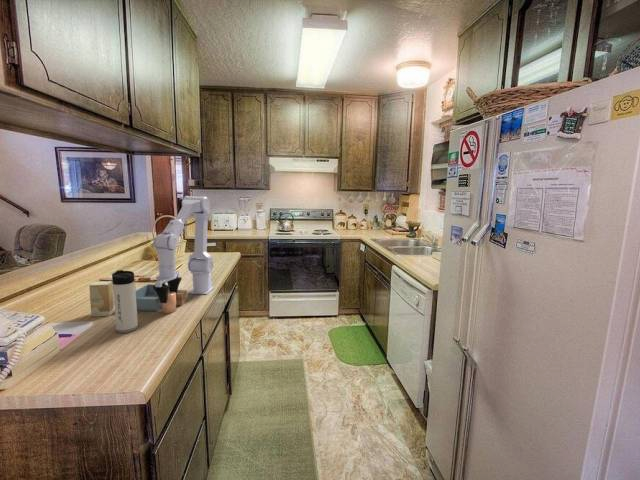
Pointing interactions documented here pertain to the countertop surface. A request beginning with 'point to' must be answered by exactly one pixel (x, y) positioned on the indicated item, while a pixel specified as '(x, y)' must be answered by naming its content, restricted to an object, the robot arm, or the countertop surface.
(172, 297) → the terracotta capsule
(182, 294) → the walnut cube
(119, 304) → the travel mug
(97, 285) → the skincare box
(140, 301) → the tote
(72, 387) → the countertop surface
